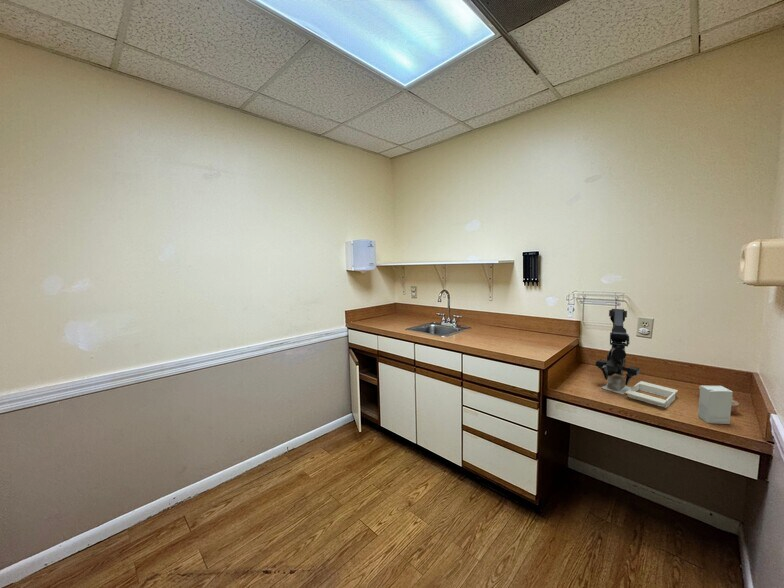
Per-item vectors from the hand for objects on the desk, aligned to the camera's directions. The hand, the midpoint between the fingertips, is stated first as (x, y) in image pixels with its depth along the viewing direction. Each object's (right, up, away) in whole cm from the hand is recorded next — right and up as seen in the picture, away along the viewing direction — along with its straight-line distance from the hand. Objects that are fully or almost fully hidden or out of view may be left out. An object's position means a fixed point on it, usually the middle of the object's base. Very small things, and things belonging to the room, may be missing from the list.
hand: (616, 382), depth 168 cm
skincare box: (+18, -7, -33) cm, 39 cm away
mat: (+1, -3, +1) cm, 4 cm away
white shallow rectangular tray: (+9, -5, -11) cm, 15 cm away
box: (+1, -3, +1) cm, 3 cm away
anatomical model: (+34, -5, -19) cm, 39 cm away
